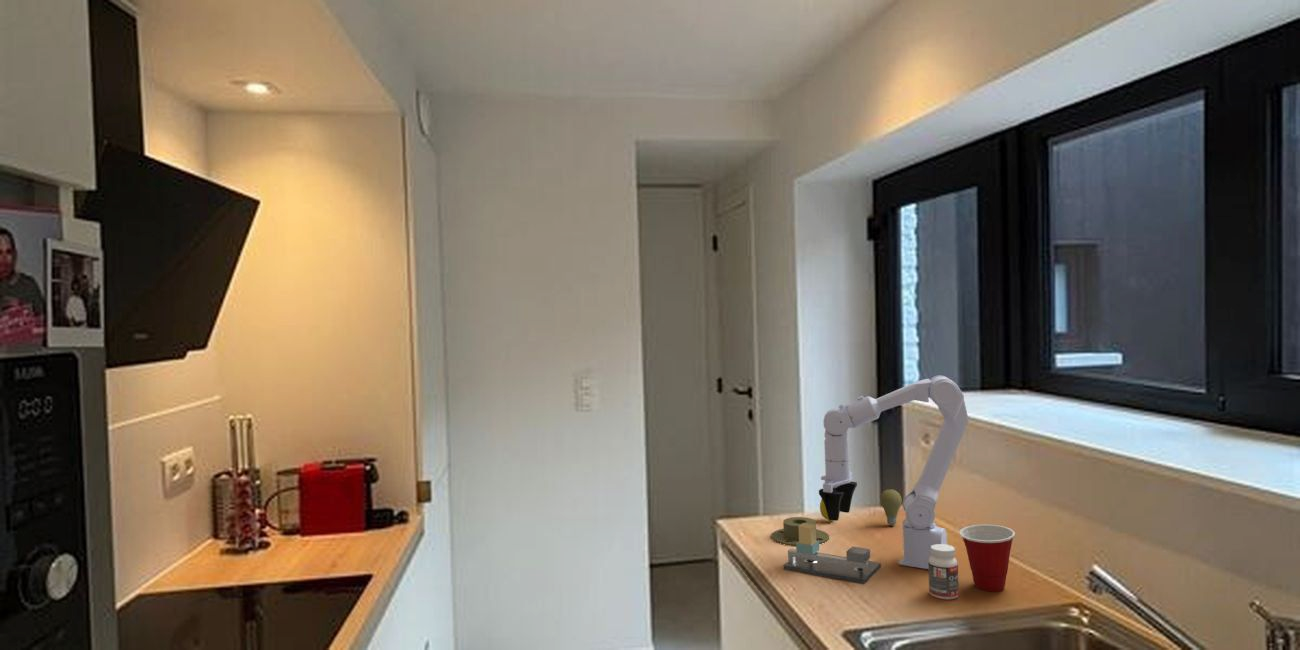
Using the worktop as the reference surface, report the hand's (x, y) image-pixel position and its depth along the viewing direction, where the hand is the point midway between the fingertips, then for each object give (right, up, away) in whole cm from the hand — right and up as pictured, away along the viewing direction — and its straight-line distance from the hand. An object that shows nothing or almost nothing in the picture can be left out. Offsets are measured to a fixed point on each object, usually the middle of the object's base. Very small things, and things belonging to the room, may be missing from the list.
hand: (839, 515), depth 174 cm
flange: (-6, -11, +18) cm, 22 cm away
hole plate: (-3, -11, -6) cm, 13 cm away
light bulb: (+21, -10, +25) cm, 34 cm away
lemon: (+6, -10, +31) cm, 33 cm away
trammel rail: (-4, -10, -8) cm, 13 cm away
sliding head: (-9, -9, -5) cm, 14 cm away
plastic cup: (+26, -10, -20) cm, 35 cm away
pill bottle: (+16, -10, -24) cm, 30 cm away
